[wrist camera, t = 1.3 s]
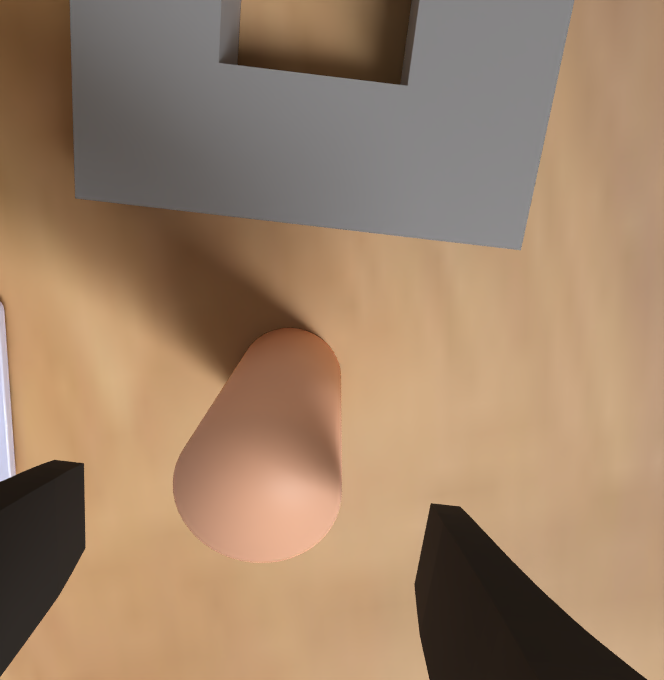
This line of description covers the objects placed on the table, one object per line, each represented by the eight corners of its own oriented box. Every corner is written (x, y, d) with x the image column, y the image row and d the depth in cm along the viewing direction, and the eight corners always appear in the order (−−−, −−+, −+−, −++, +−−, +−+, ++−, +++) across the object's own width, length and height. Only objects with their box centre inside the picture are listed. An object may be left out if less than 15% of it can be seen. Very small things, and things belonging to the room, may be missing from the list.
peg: (237, 417, 20) (170, 554, 12) (243, 322, 19) (175, 404, 11) (334, 428, 20) (331, 571, 12) (346, 334, 19) (351, 423, 11)
